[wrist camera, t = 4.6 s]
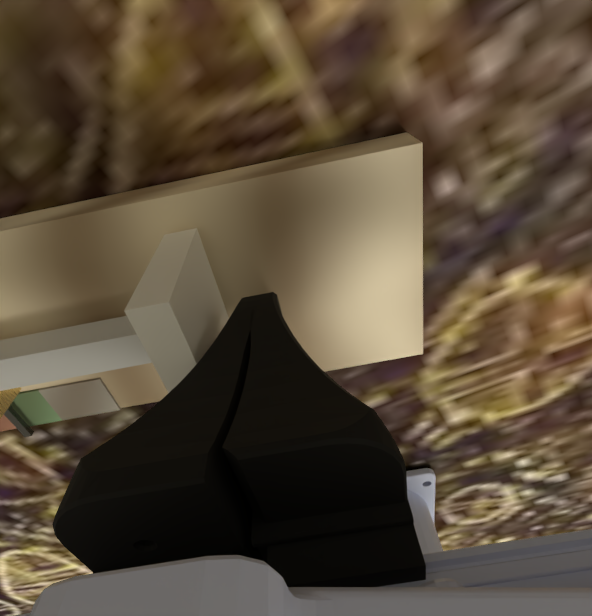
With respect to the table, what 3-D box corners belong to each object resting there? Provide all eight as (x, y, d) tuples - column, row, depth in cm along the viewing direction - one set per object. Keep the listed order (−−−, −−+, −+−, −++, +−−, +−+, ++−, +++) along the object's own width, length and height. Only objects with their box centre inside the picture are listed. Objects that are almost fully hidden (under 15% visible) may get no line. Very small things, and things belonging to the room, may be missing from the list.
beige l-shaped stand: (406, 131, 12) (549, 227, 6) (411, 330, 17) (496, 501, 11) (-206, 262, 13) (-613, 453, 7) (-47, 414, 18) (-214, 612, 12)
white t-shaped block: (196, 228, 12) (168, 301, 8) (248, 371, 15) (242, 464, 12) (-69, 282, 12) (-194, 372, 9) (39, 409, 16) (-23, 509, 12)
